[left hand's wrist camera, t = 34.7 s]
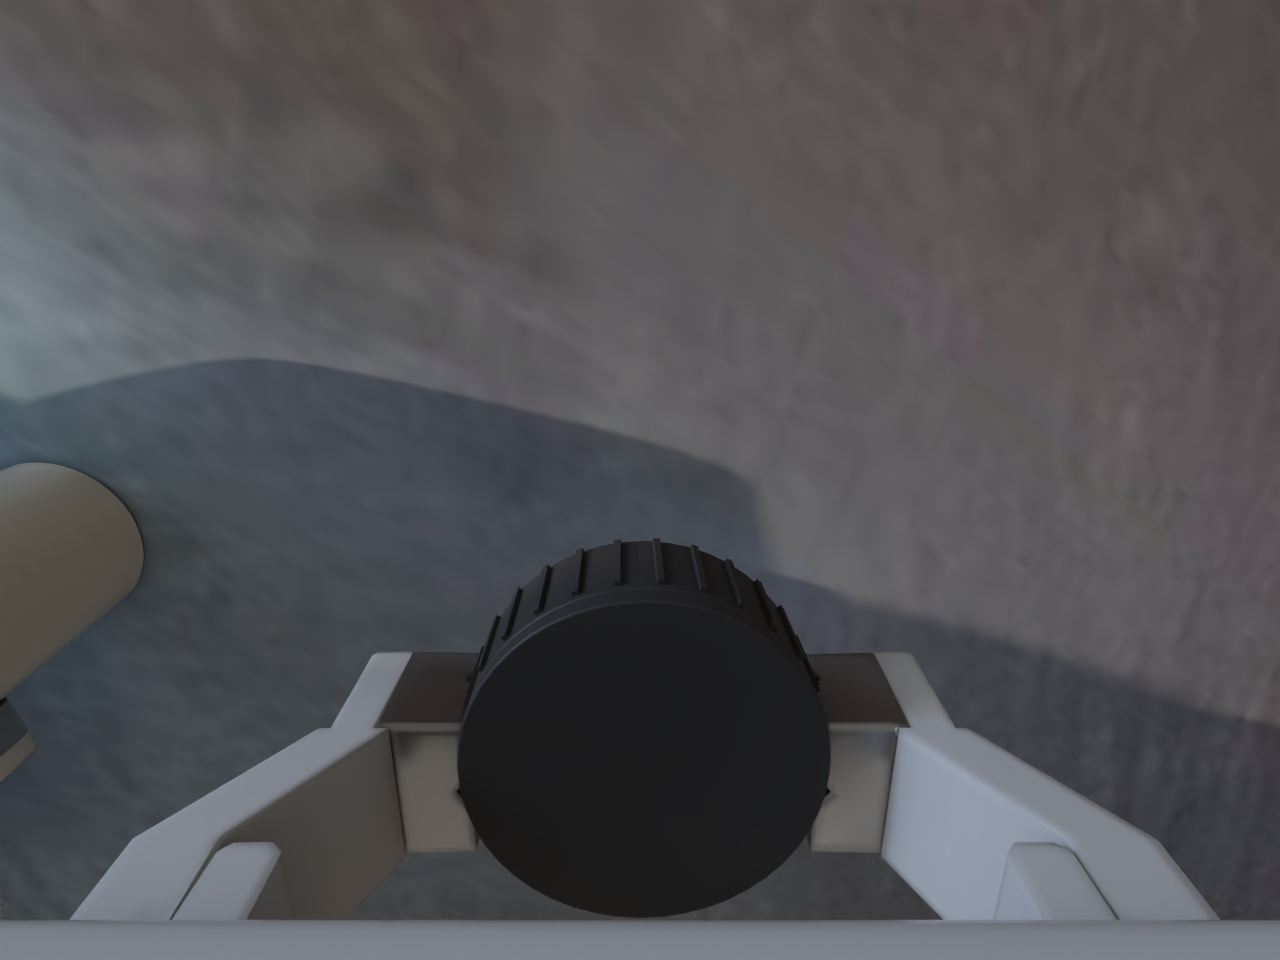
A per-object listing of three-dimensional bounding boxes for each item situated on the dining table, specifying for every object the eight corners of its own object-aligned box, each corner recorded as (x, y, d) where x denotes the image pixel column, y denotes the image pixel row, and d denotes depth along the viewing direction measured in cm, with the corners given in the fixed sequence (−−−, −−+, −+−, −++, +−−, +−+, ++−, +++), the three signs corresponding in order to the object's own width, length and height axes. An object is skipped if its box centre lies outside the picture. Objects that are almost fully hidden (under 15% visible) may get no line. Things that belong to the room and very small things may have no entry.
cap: (716, 859, 11) (732, 966, 9) (431, 759, 10) (397, 854, 9) (861, 611, 10) (908, 682, 8) (552, 483, 9) (538, 533, 8)
